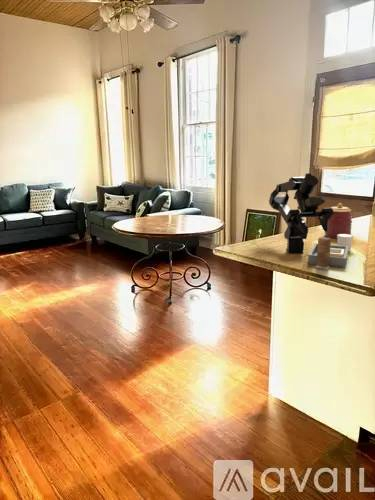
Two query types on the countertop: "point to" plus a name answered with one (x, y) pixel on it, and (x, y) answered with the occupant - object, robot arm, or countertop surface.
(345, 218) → the canister
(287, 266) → the countertop surface
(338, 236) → the white cube
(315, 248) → the walled box
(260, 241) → the countertop surface
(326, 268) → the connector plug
